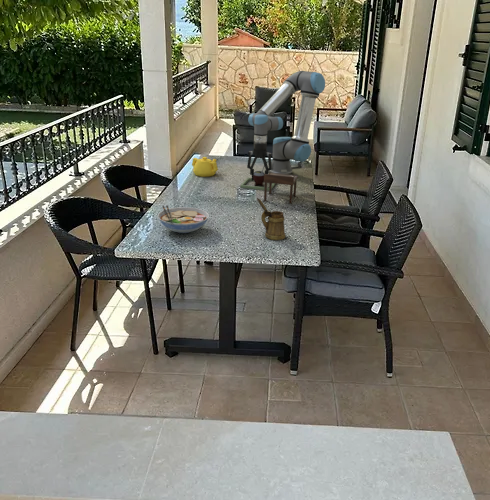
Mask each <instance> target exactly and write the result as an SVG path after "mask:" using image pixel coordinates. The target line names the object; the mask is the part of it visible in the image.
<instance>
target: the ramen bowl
mask: <svg viewBox="0 0 490 500" xmlns="http://www.w3.org/2000/svg"><path fill="white" fill-rule="evenodd" d="M161 206H162V210H161V211H160V212H158V213H157V219H158V220H159V222H160V223H161V224H162V225H163V226H164V227H165V228H166V229H167V230H170V231H172V232H176V233H178V234H189V233H191V232H194V231H197V230H199V229H201V228H202V227H203V226H204V225H205V224H206V223H207V221H208V219H209V216H210V215H209V213H208V212H207V211H206V210H203V209H200V208H197V207H189V206H187V207H186V206H185V207H184V206H179V207H171V208H169V205H167V204H166V205H161Z"/></svg>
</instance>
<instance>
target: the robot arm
mask: <svg viewBox="0 0 490 500" xmlns="http://www.w3.org/2000/svg"><path fill="white" fill-rule="evenodd" d="M325 89H326V79H325V77H324V75H323V74H322V73H320V72H317V71H309V70H298V71H295V72H294V73H292V74H291V75H289V76H288V77H287V78H286V79H285V80H284V81H283V82H282V85H281V87H279V88H278V90H276V92H275V93H274V94H273V95H272V96H271V97H270V98H269V99H268V100H267V102H265V103H264V105H263V106H262V107H260V109H258V111H257V112H256V113H255V112H253V113H250V114H249V116H248V119H247V120H248V124H249V125H250V126H252V127H254V128H253V129H254V131H253V132H254V133H253V150H249V151H248V152H247V153H248V158H247V165H246V168H247V169H249V175H250V176H251V178H252V181H251V182H254V181H253V180H254V179H253V175H254V172H255V169H254V166H255V164H256V162H257V160H258V159H261V160H262V163H263V167H264V166H265V167H264V169H265V170H264V174H269V173H279V174H289V175H293V169H299V168H301V167H302V165H301V164H302V163H307V164H309V163H310V161H307V160H308V159H309V158H310V156H311V153H312V146H311V145H310V140H309V134H310V129H311V123H312V119H313V114H314V109H315V104H316V100H317V99H318V98H319V97H320V94H322V93H323V92H324V91H325ZM299 91H300V93H299V94H300V95H301V99H300V104H299V109H298V114H297V120H296V124H295V130H294V135H293V136H279V137H275V138H273V140H272V141H273V142H272V152H268V144H267V142H268V132H272V131H273V132H274V131H279V130H281V129H283V126H284V120H283V118H281V116H273V115H274V114H275V112H276V111H277V110H278V109H279V108H280V107H281V106H282V105H283V104H284V103H285V102H286V101H287V100H288V99H289V97H291V95H294V94H295V93H296V92H299ZM252 155H254V158H253V157H252ZM266 156H267V158H266ZM252 158H253V160H252ZM267 159H268V160H267ZM291 160H292V161H295V162H297V165H298V166H292V163H291ZM266 162H267V163H266Z"/></svg>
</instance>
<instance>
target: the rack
mask: <svg viewBox="0 0 490 500" xmlns="http://www.w3.org/2000/svg"><path fill="white" fill-rule="evenodd" d="M298 179H299V176H298V175H297V174H290V175H289V174H279V173H268V174H265V173H264V182H263V183H264V187H265V188H264V190H263V201H264V202H267V198H268V196H267V195H272V191H273V190H272V189H273V188H272V183H275V185H276V184H277V185H287V186H289V187H290V189H289V202H288V204H289V205H293V198H294V197H297V194H296V193H297V182H298ZM268 186H269V187H268ZM267 188H269V191H268V190H267Z"/></svg>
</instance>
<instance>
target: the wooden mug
mask: <svg viewBox="0 0 490 500" xmlns="http://www.w3.org/2000/svg"><path fill="white" fill-rule="evenodd" d="M256 200H257V203H258V204H259V206H260V207H261V209H262V210H263V212H262V213H261V215H260V220H261V222H262V224H263V226H264V228H265V233H264V236H265V238H266V239H268V240H271V241H281V240H284V239H285V238H286V232H285V231H286V230H285V216H284V212H283V211H279V210H274V211H273V210H272V211H271V210H268V209H267V206H266V205H265V204H264V202H263V201H262V199H260V198H258V197H257V198H256ZM266 218H267V221H266Z"/></svg>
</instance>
